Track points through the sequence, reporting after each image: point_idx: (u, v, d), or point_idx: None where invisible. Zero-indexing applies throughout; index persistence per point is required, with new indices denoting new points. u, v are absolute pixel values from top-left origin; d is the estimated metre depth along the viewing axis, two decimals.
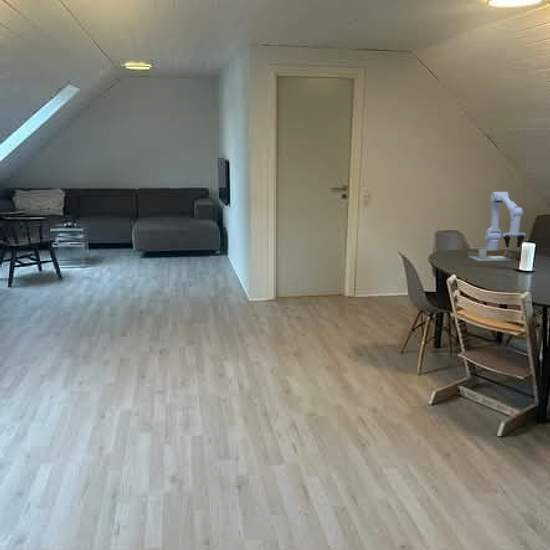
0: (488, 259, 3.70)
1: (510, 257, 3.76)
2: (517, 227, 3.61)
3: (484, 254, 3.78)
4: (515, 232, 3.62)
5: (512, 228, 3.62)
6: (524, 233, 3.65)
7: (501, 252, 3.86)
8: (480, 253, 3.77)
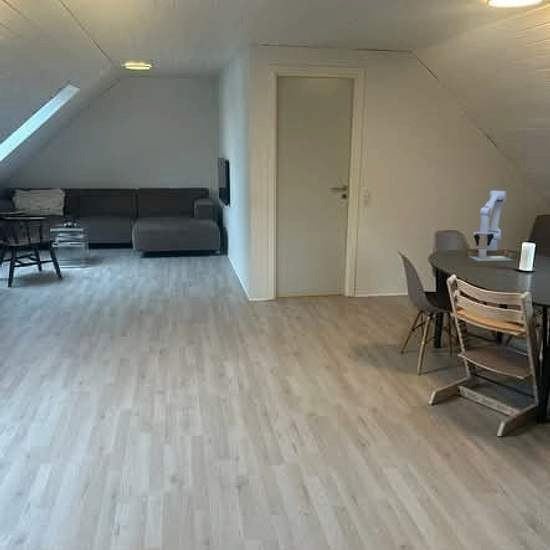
0: (488, 259, 3.70)
1: (510, 257, 3.76)
2: (486, 226, 3.71)
3: (484, 254, 3.78)
4: (485, 231, 3.72)
5: (482, 227, 3.73)
6: (494, 232, 3.75)
7: (501, 252, 3.86)
8: (480, 253, 3.77)
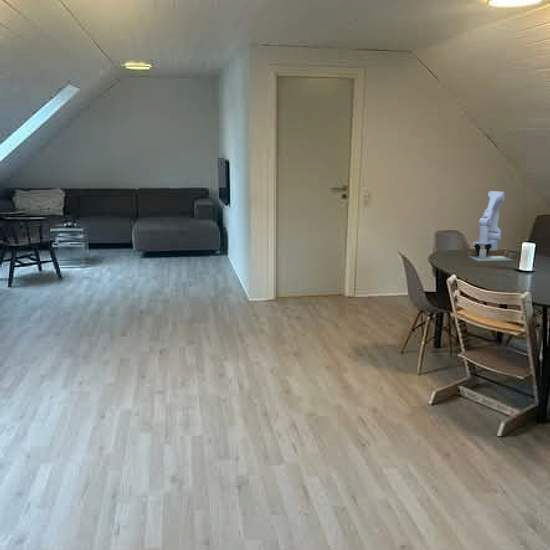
0: (488, 259, 3.70)
1: (510, 257, 3.76)
2: (486, 236, 3.73)
3: (484, 254, 3.78)
4: (484, 241, 3.74)
5: (481, 237, 3.74)
6: (493, 242, 3.76)
7: (501, 252, 3.86)
8: (480, 253, 3.77)
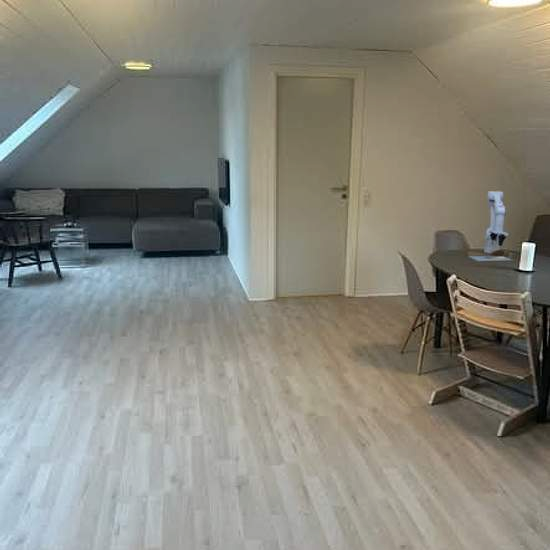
0: (487, 251, 3.75)
1: (510, 257, 3.76)
2: (496, 225, 3.74)
3: (497, 245, 3.77)
4: (494, 230, 3.76)
5: None
6: (505, 233, 3.70)
7: (501, 252, 3.86)
8: (493, 244, 3.79)
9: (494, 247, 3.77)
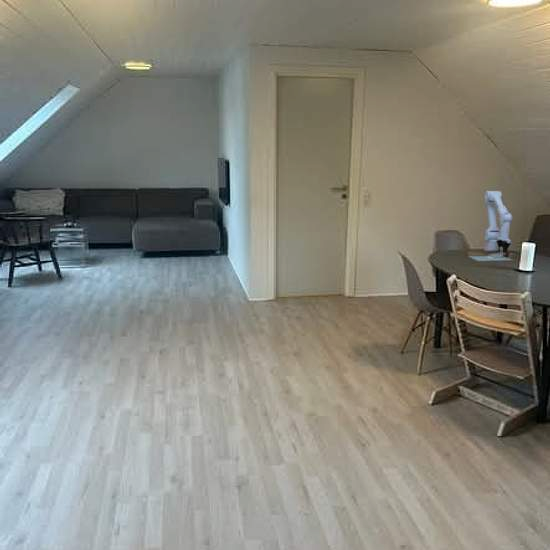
0: (489, 256, 3.80)
1: (510, 257, 3.76)
2: (500, 232, 3.77)
3: (502, 252, 3.79)
4: (499, 236, 3.78)
5: None
6: (507, 240, 3.72)
7: None
8: (500, 250, 3.82)
9: (499, 253, 3.80)
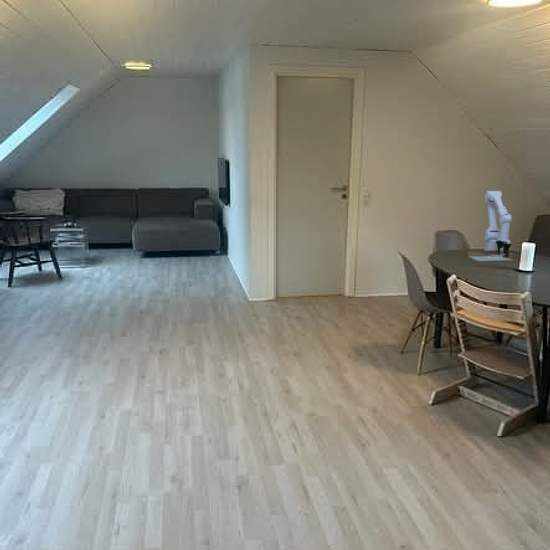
0: (489, 256, 3.80)
1: (510, 257, 3.76)
2: (500, 233, 3.77)
3: (502, 253, 3.79)
4: (499, 237, 3.78)
5: None
6: (507, 241, 3.72)
7: None
8: (500, 252, 3.82)
9: (499, 254, 3.80)
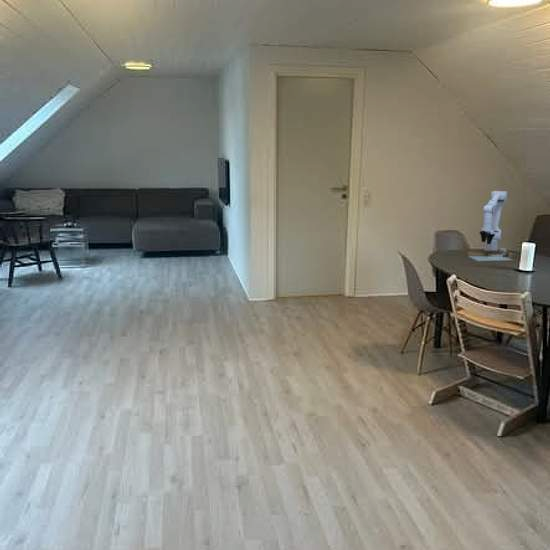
0: (489, 256, 3.80)
1: (510, 257, 3.76)
2: (484, 223, 3.75)
3: (502, 253, 3.79)
4: (483, 228, 3.77)
5: None
6: (490, 231, 3.71)
7: None
8: (500, 252, 3.82)
9: (499, 254, 3.80)
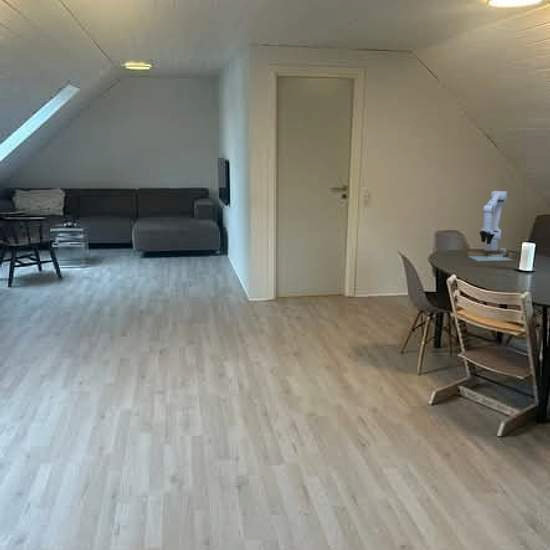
0: (489, 256, 3.80)
1: (510, 257, 3.76)
2: (484, 223, 3.75)
3: (502, 253, 3.79)
4: (483, 228, 3.77)
5: None
6: (490, 231, 3.71)
7: None
8: (500, 252, 3.82)
9: (499, 254, 3.80)
